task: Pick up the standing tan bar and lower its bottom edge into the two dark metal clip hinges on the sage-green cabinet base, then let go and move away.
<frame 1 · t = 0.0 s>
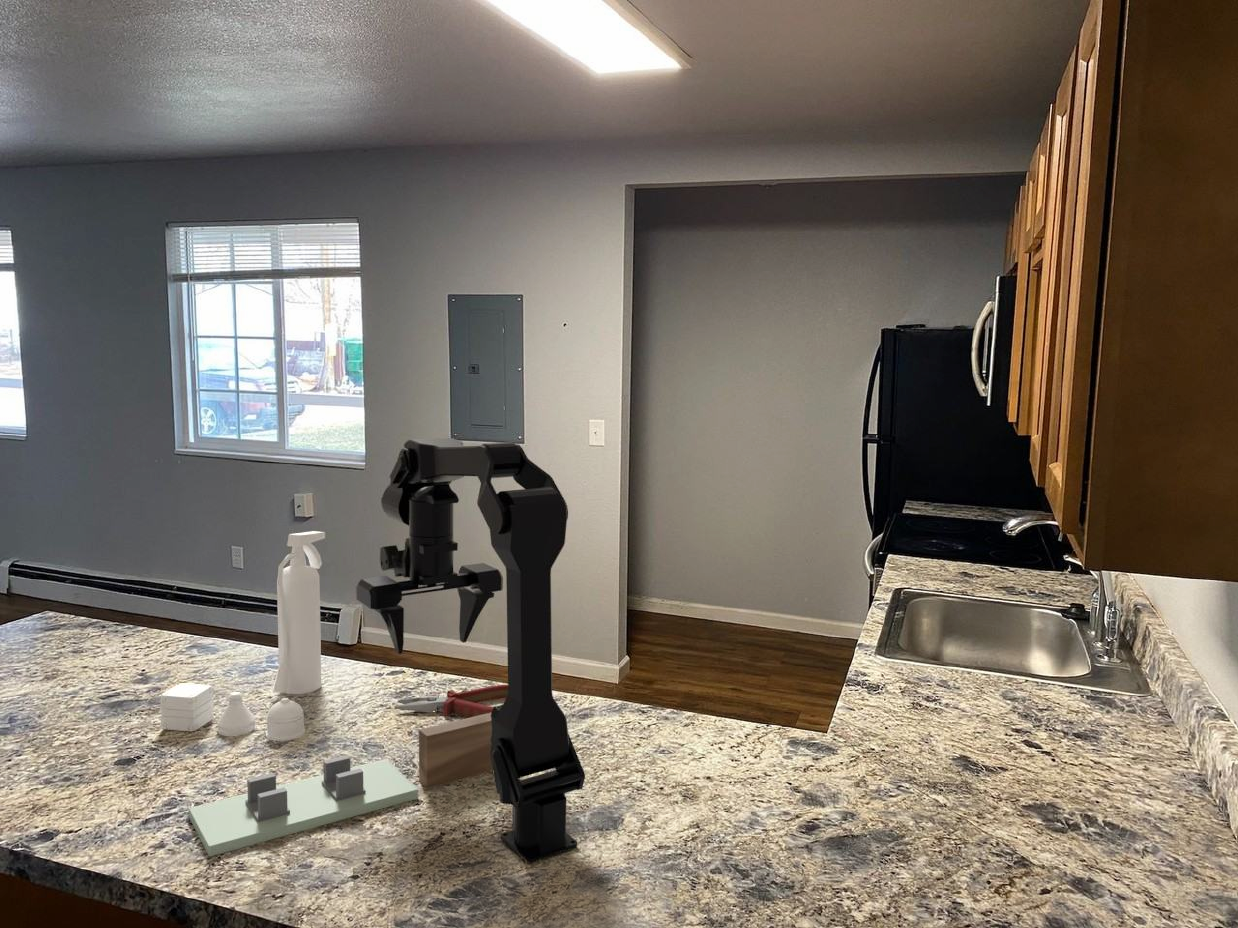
hand: (431, 647, 127), 15 cm above the worktop, fingers open, 9 cm apart
container set: (237, 731, 135), on the worktop
pliers: (471, 709, 146), on the worktop
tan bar: (466, 773, 123), on the worktop
hinge base: (306, 807, 113), on the worktop
fire extinguisher: (298, 689, 151), on the worktop
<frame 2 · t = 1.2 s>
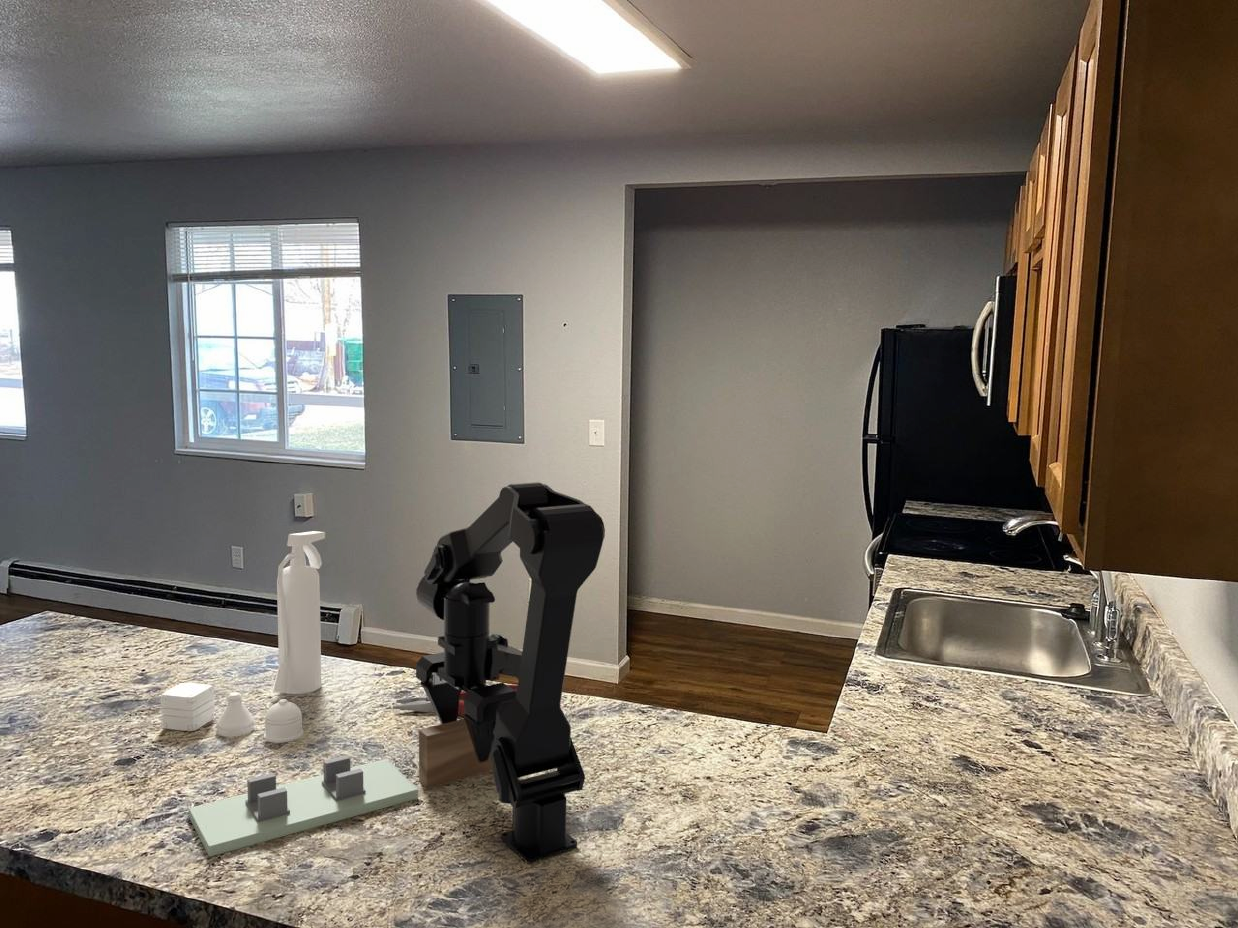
hand: (466, 747, 123), 3 cm above the worktop, fingers open, 9 cm apart
nothing on the worktop moved.
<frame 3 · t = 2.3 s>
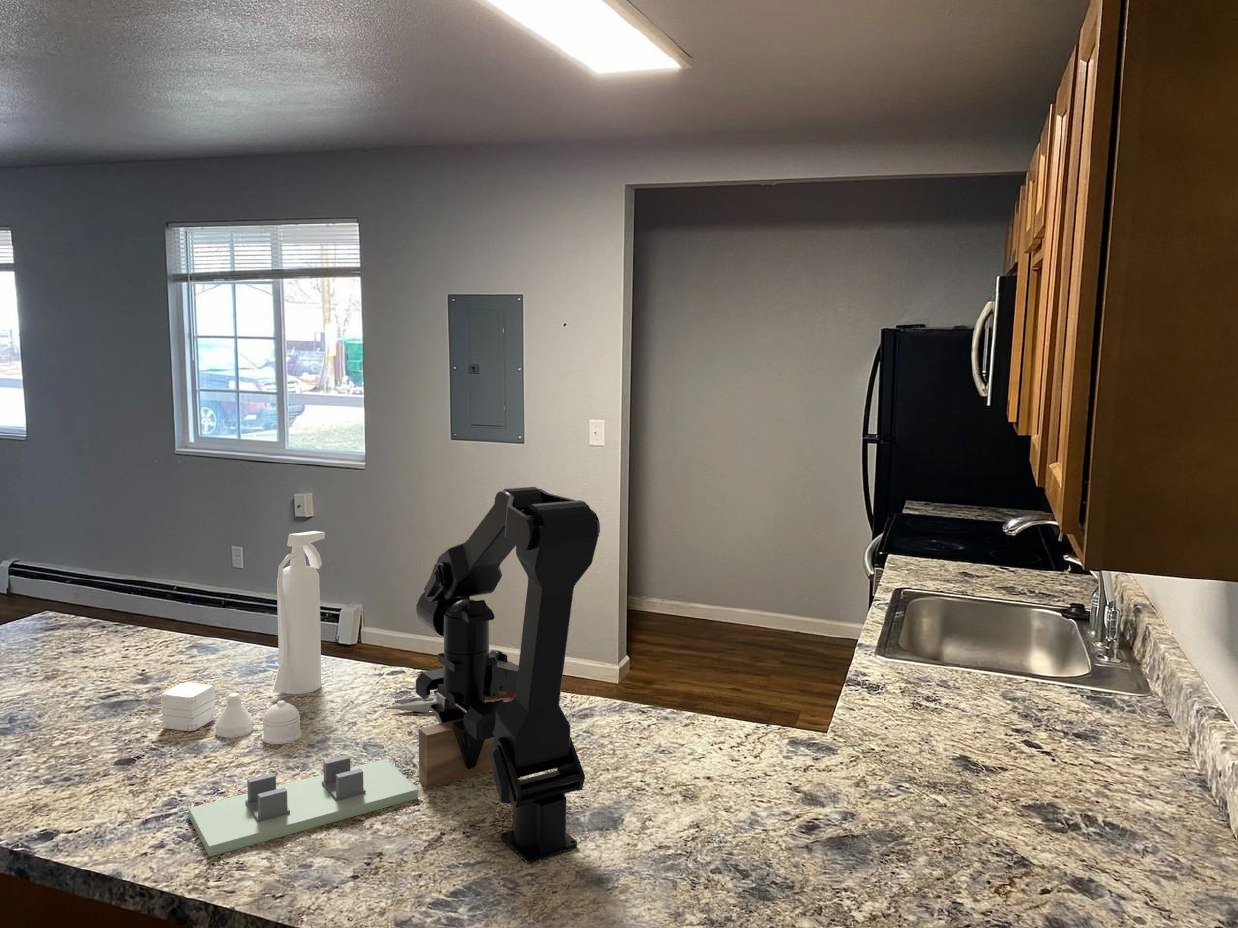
hand: (466, 763, 123), 1 cm above the worktop, fingers closed on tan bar, 2 cm apart
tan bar: (466, 772, 123), on the worktop, touching gripper
everything else where it was.
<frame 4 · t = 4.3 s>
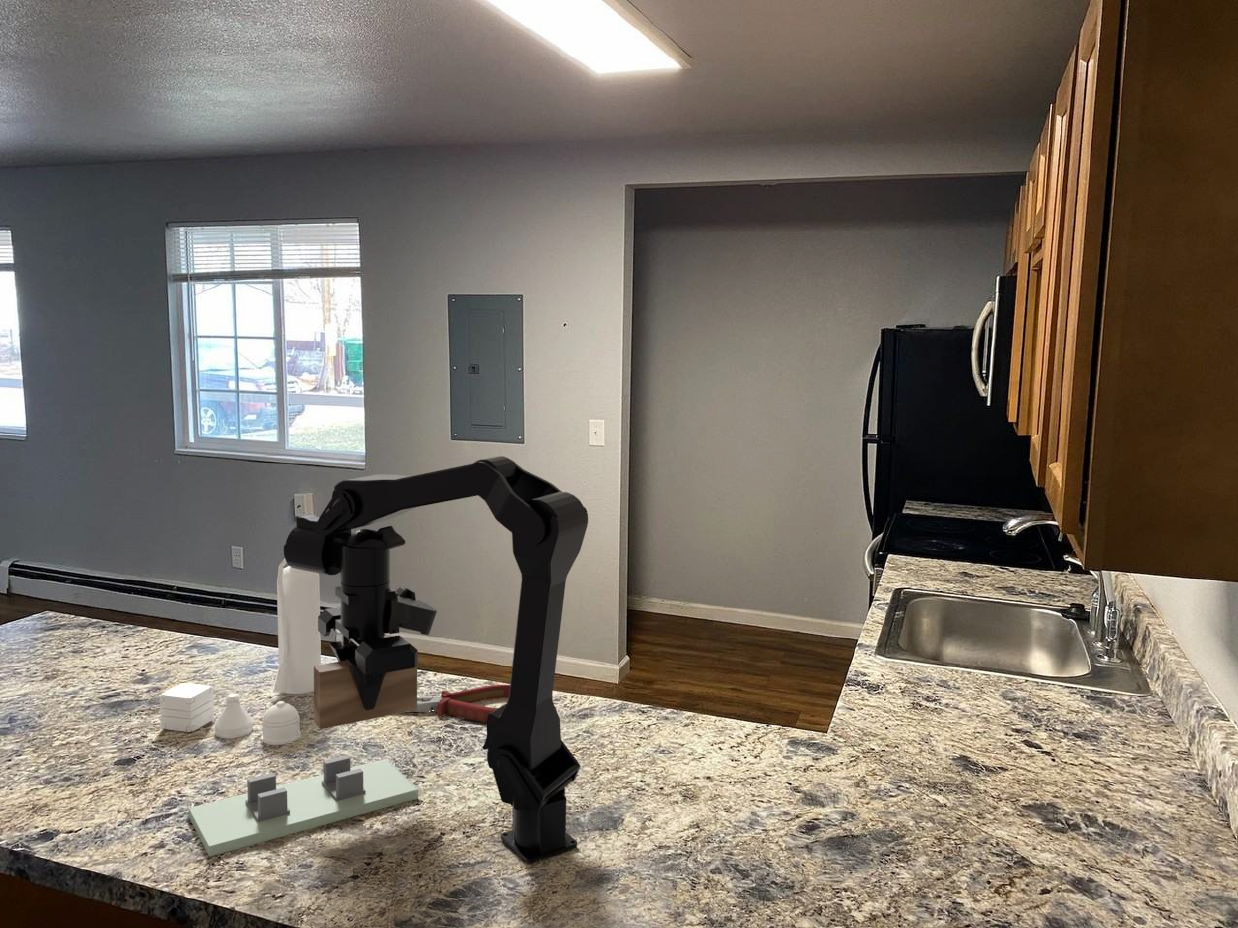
hand: (365, 705, 116), 11 cm above the worktop, fingers closed on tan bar, 2 cm apart
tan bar: (366, 715, 116), point 10 cm above the worktop, touching gripper
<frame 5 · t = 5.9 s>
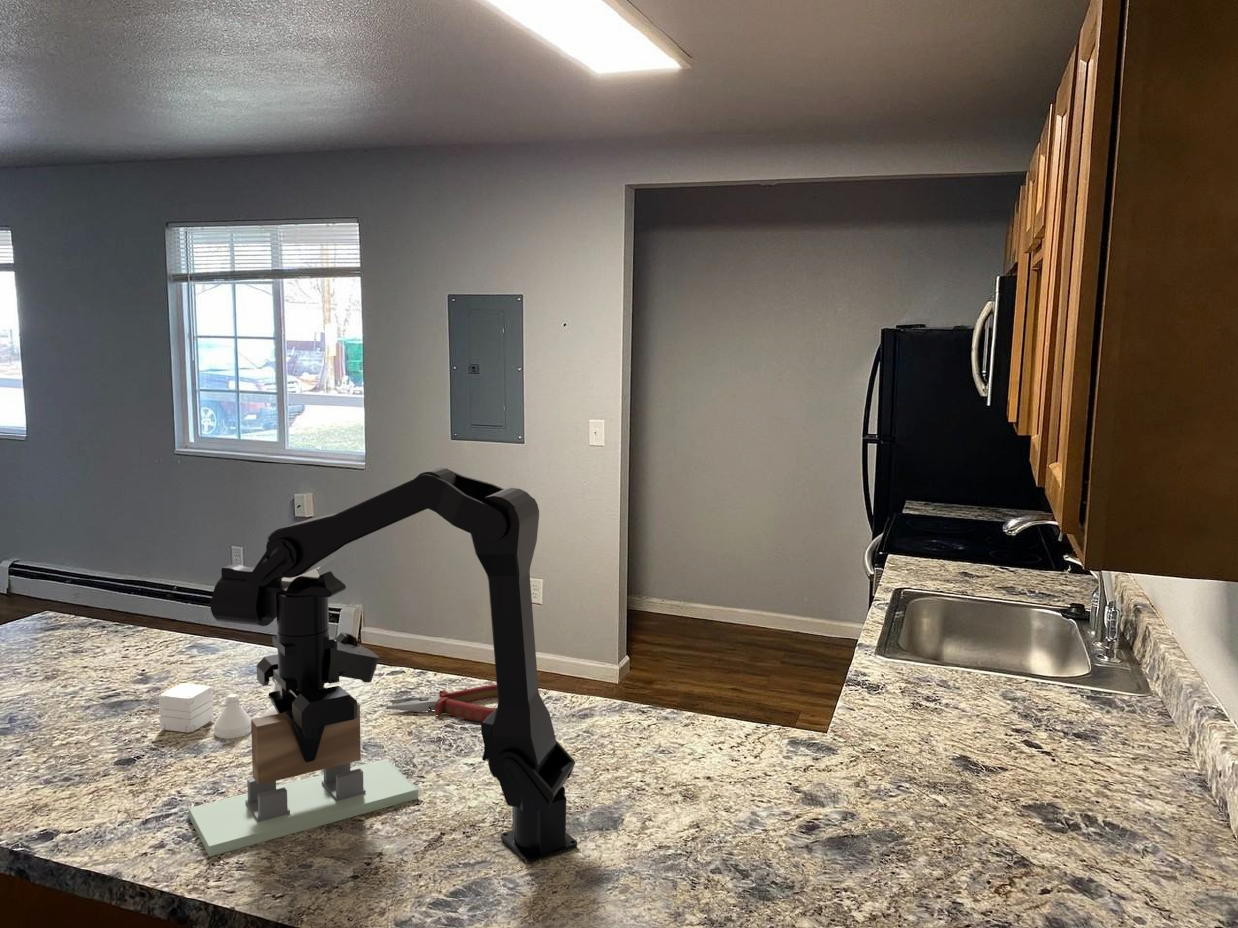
hand: (306, 756, 112), 6 cm above the worktop, fingers closed on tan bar, 2 cm apart
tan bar: (307, 768, 113), point 5 cm above the worktop, touching gripper
when the fingers open (4 cm above the worktop, at t = 6.7 s): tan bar stays where it is, resting on hinge base.
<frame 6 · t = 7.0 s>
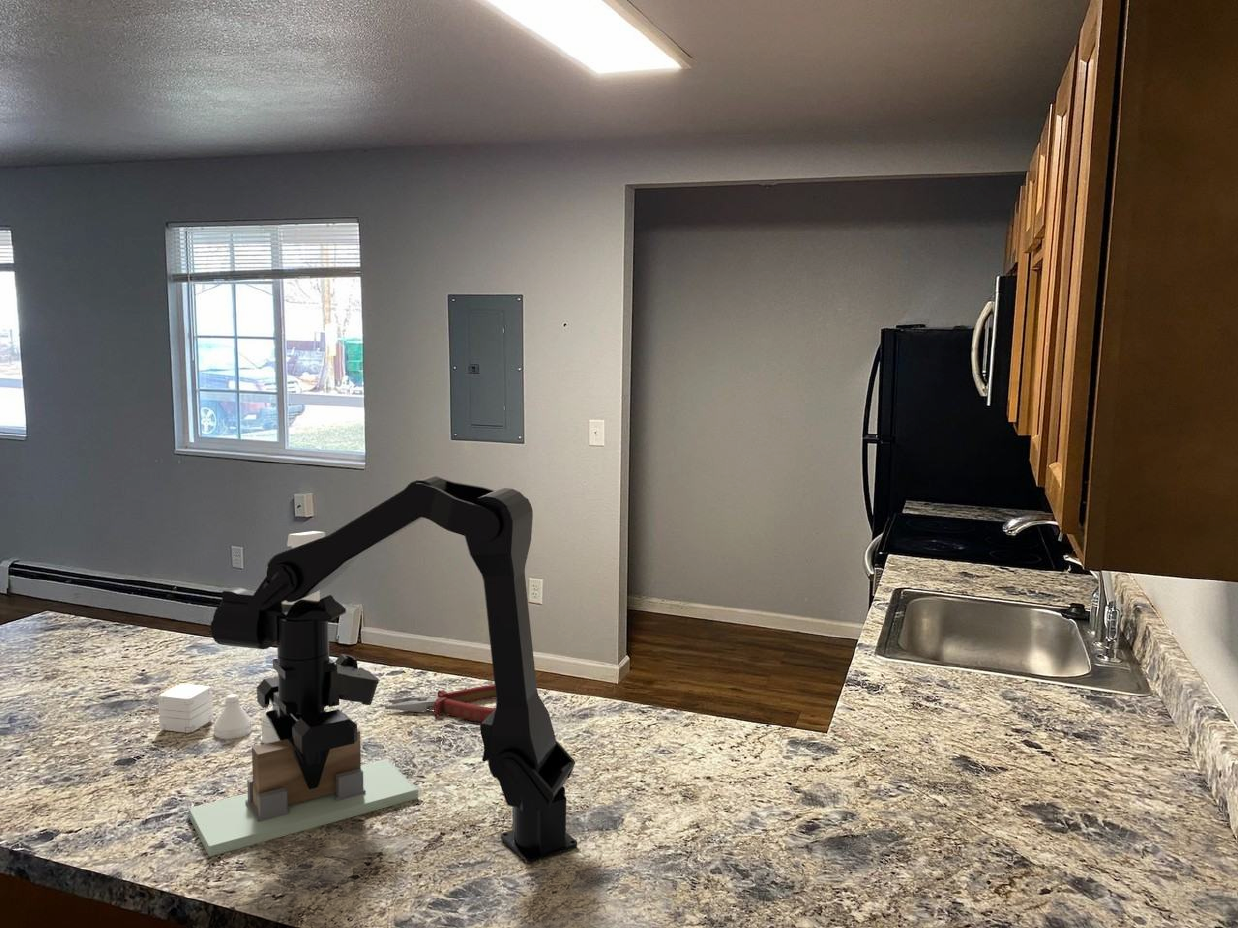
hand: (306, 779, 113), 4 cm above the worktop, fingers open, 5 cm apart
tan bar: (308, 794, 113), point 2 cm above the worktop, touching hinge base
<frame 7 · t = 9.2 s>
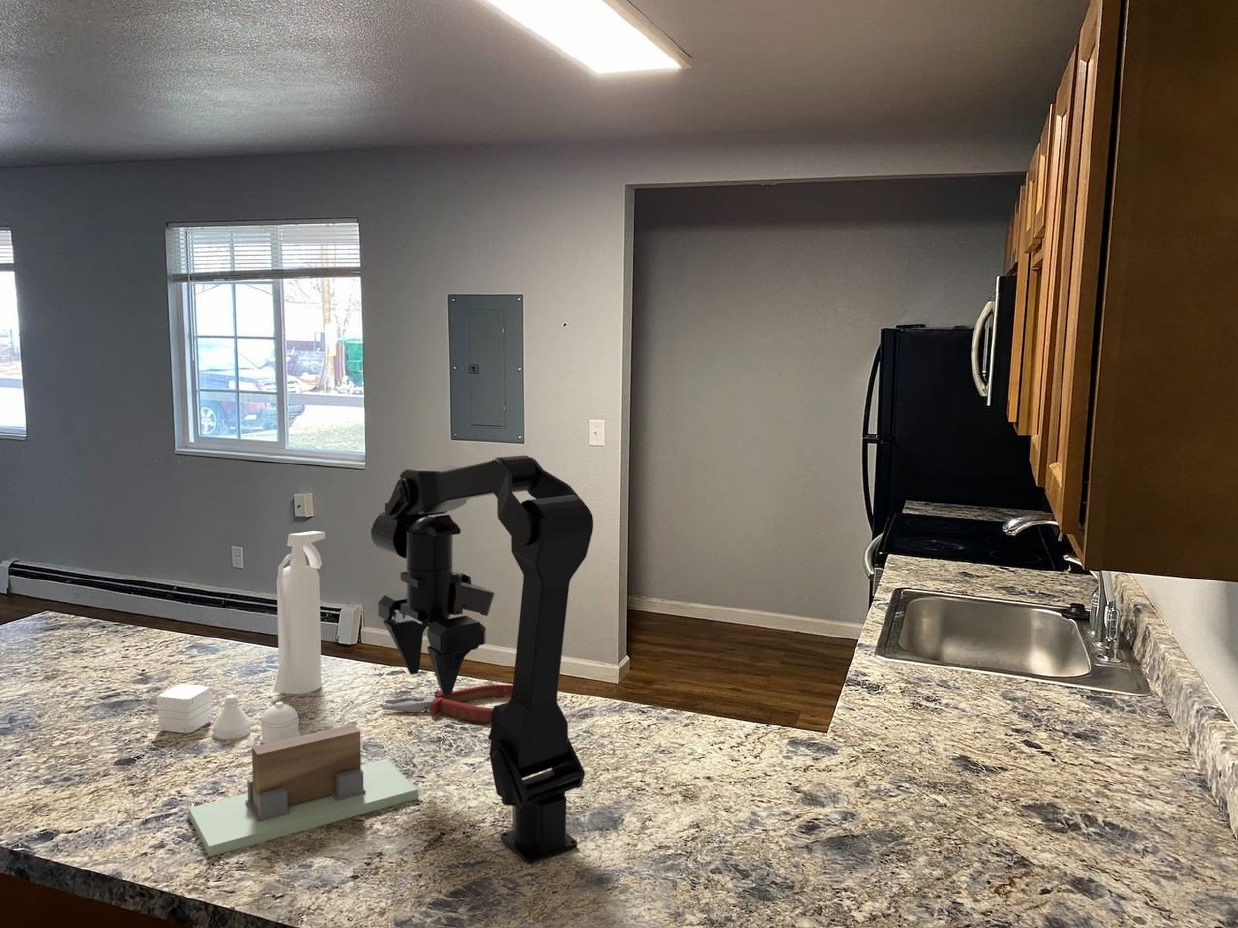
hand: (430, 683, 122), 12 cm above the worktop, fingers open, 9 cm apart
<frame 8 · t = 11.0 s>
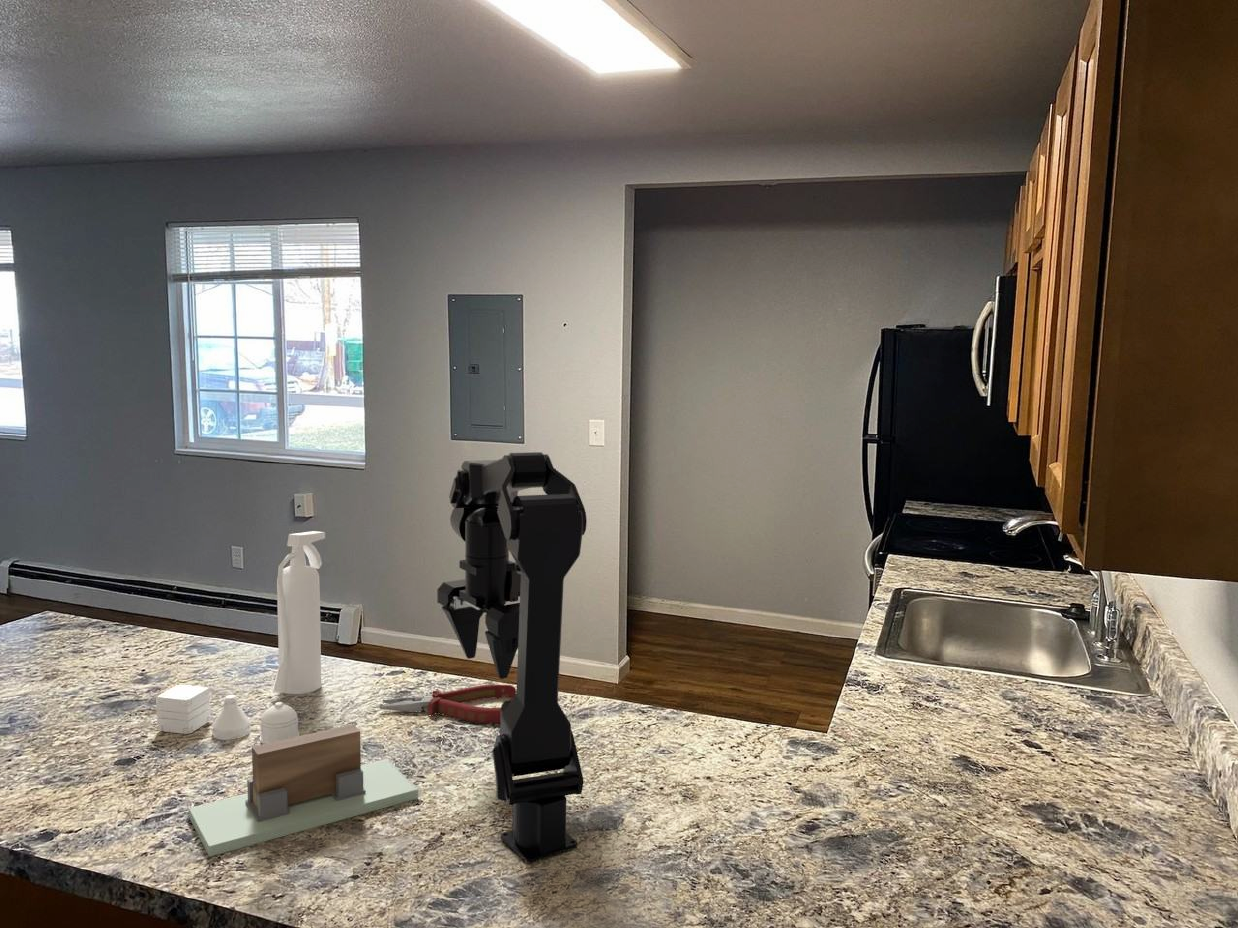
hand: (486, 667, 128), 12 cm above the worktop, fingers open, 9 cm apart
at the end: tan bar 0.2 cm off-centre on the hinge base, point 1.6 cm above the hinge base's base; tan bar tilted 0°; the gripper is holding nothing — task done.
